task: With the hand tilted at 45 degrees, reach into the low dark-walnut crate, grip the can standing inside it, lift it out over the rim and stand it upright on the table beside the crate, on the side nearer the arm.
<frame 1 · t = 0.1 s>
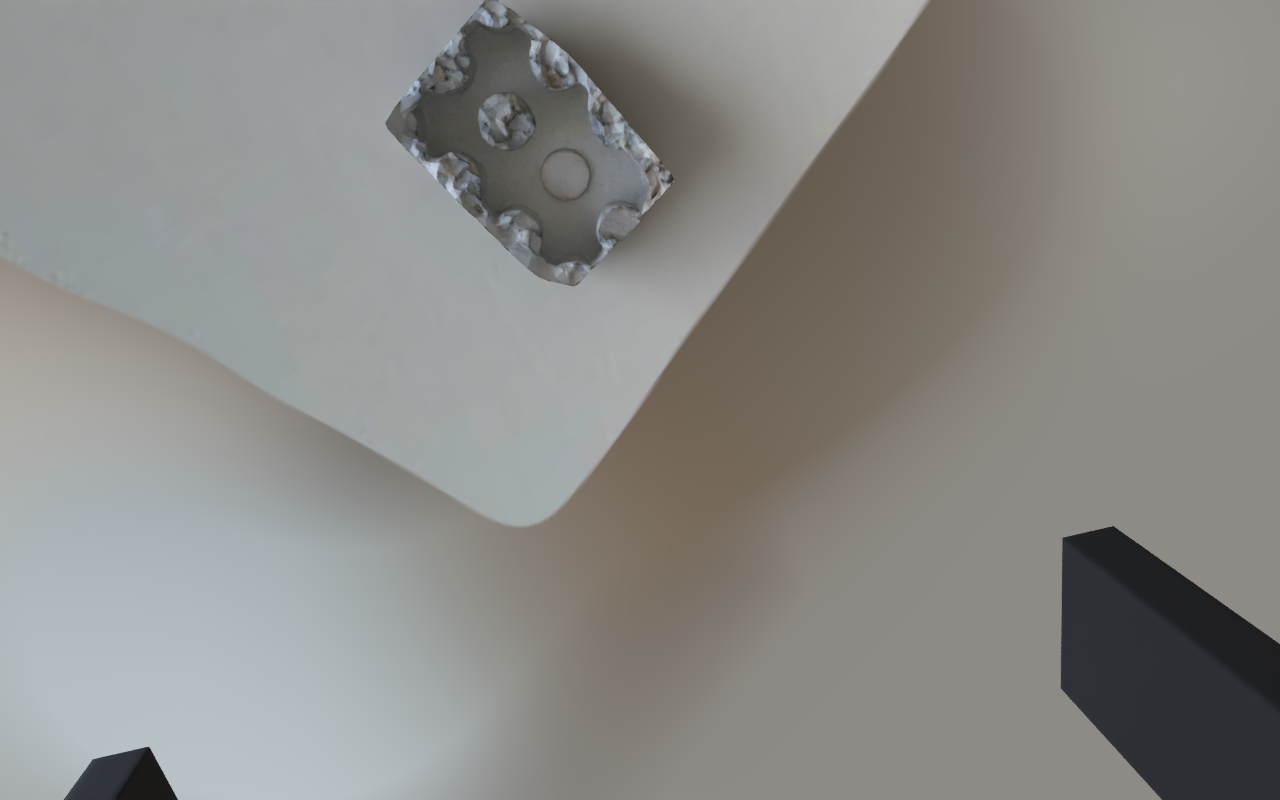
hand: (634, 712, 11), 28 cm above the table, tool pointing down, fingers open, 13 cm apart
egg carton: (535, 152, 35), on the table
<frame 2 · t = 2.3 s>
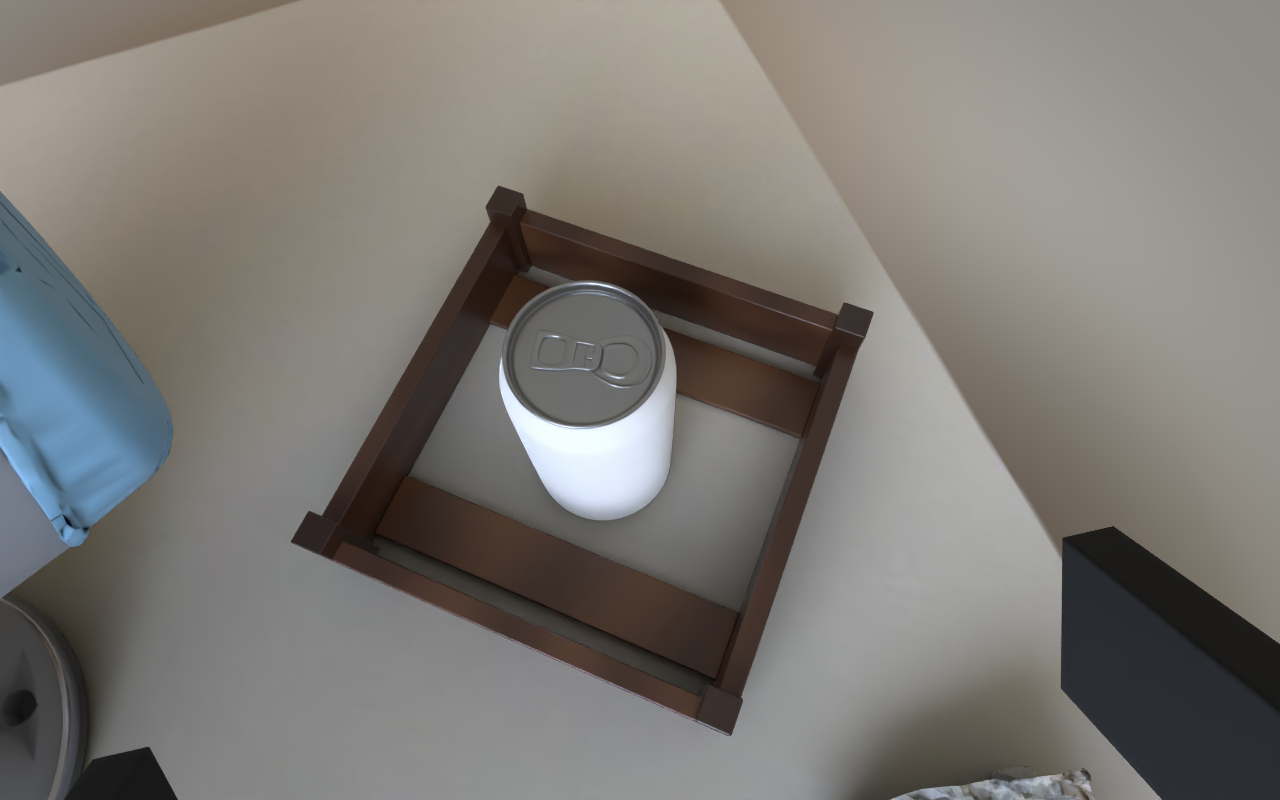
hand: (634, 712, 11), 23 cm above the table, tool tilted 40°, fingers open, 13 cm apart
can: (605, 459, 37), resting in crate
crate: (605, 457, 37), on the table
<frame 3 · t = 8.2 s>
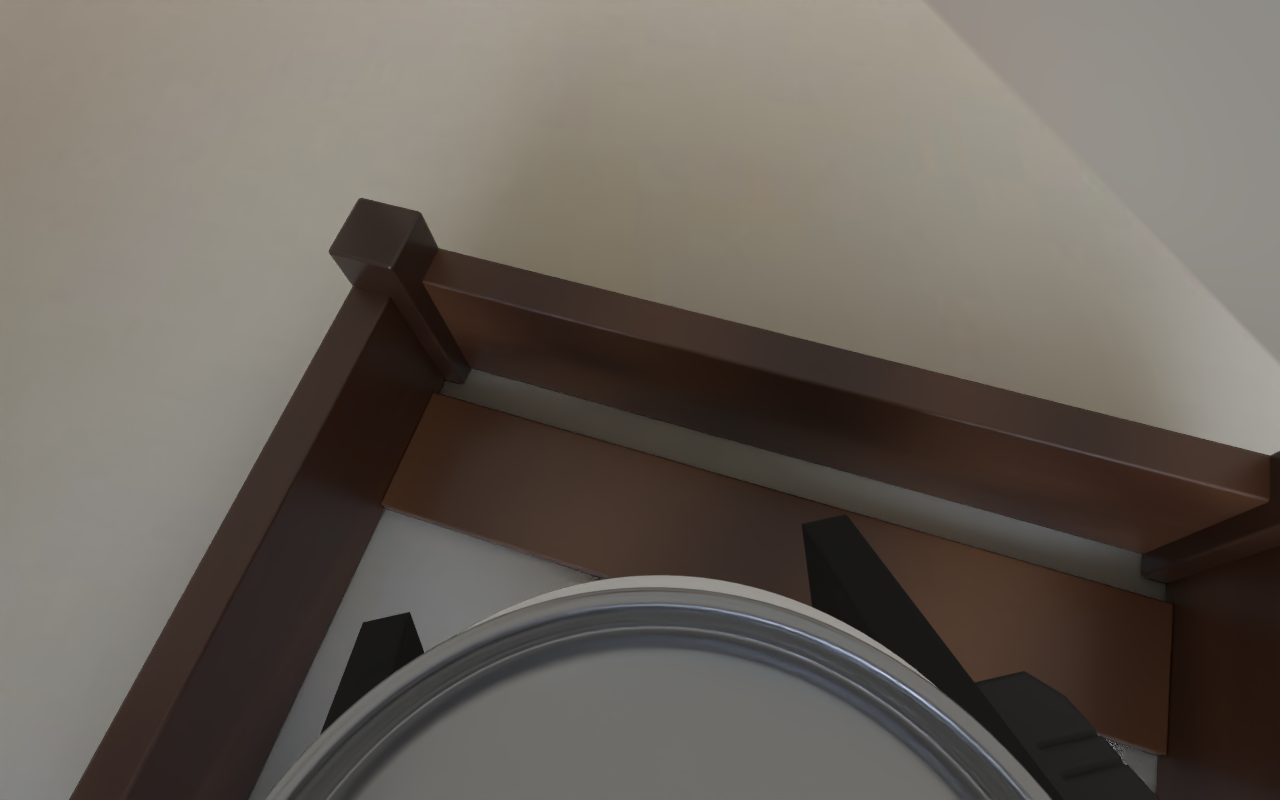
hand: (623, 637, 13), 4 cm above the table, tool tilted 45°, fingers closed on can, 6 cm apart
when the fingers open (4 cm above the table, at t = 16.6 s): can stays where it is, on the table.
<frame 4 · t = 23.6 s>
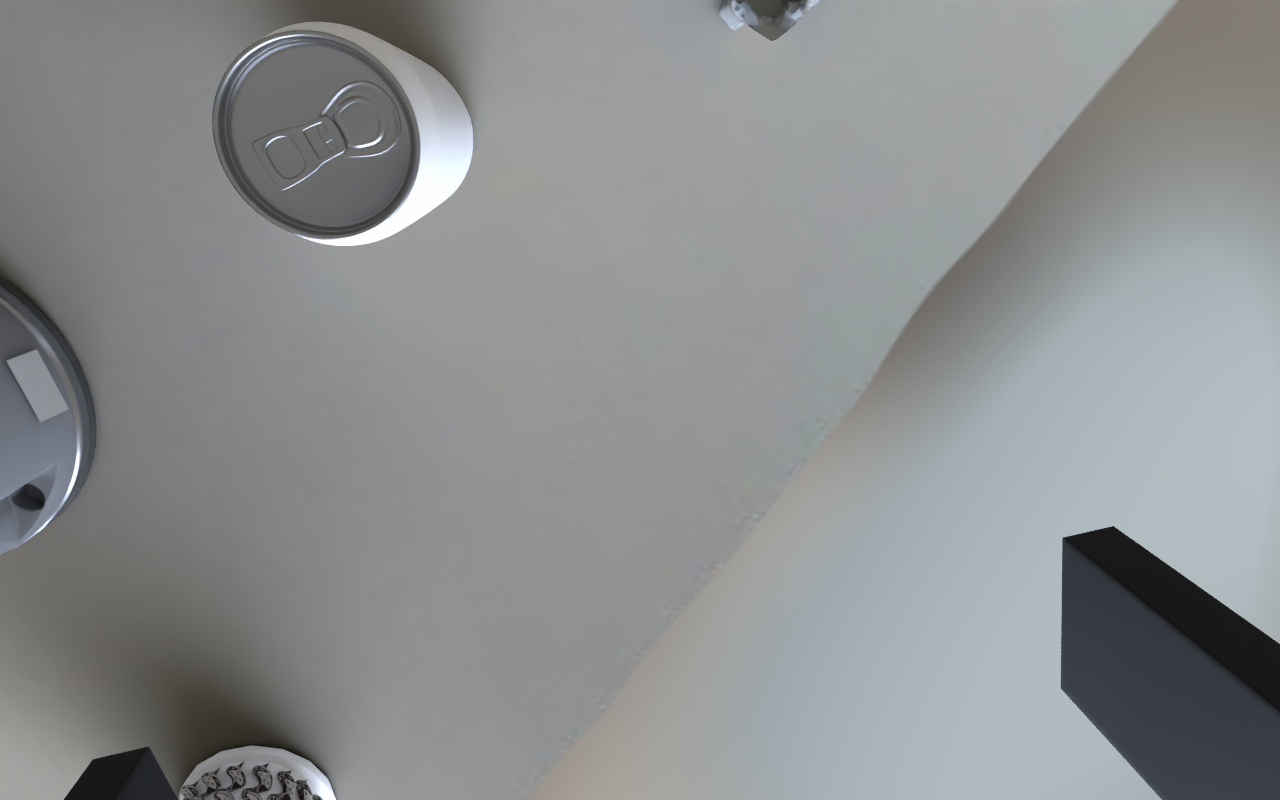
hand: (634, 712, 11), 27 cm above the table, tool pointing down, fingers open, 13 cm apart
can: (399, 136, 33), on the table
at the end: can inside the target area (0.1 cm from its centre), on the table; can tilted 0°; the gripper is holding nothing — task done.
